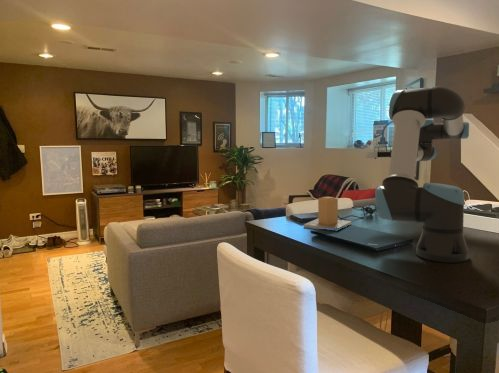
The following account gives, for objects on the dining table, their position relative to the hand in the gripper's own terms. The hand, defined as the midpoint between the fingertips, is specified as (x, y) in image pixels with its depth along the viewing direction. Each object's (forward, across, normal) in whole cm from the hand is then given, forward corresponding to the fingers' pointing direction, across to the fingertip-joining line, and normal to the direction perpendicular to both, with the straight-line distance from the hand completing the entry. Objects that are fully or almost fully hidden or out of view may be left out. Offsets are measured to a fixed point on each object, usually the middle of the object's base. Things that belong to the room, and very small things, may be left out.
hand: (378, 155), depth 160 cm
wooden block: (+18, +13, -30) cm, 37 cm away
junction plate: (+18, +13, -31) cm, 38 cm away
